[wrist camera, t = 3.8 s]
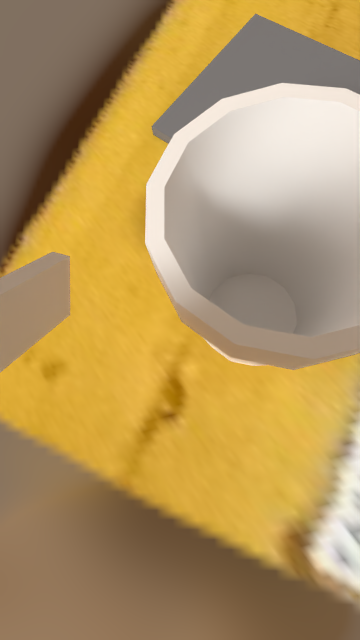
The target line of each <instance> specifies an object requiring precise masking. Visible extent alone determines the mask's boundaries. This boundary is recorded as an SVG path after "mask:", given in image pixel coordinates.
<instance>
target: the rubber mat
mask: <svg viewBox="0 0 360 640" xmlns="http://www.w3.org/2000/svg"><path fill="white" fill-rule="evenodd" d="M280 83H289V84H301V85H312V86H324V87H336V88H346V89H349V90H351V91H353V92H355V93H357V94H359V95H360V61H359V60H357V59H355V58H353V57H350V56H348V55H346V54H344V53H342V52H339V51H337V50H335V49H333V48H330V47H328V46H326V45H324V44H322V43H319V42H317V41H315V40H313V39H310V38H308V37H306V36H304V35H302V34H299V33H297V32H295V31H293V30H290V29H288V28H286V27H284V26H282V25H279V24H277V23H275V22H273V21H270V20H268V19H266V18H264V17H261V16H259V15H257V14H255V15H254V16H253V17H252V18H251V19H250V20H249V21H248V23H247V24H246V25H245V26H244V27H243V28H242V29H241V30H240V31H239V32H238V33H237V34H236V36H235V37H234V38H233V39H232V40H231V41H230V42H229V43H228V44H227V45H226V46H225V47H224V49H223V50H222V51H221V52H220V53H219V54H218V55H217V56H216V57H215V58H214V59H213V61H212V62H211V63H210V64H209V65H208V66H207V67H206V68H205V69H204V70H203V71H202V72H201V74H200V75H199V76H198V77H197V78H196V79H195V80H194V81H193V82H192V83H191V84H190V85H189V87H188V88H187V89H186V90H185V91H184V92H183V93H182V94H181V95H180V96H179V97H178V98H177V100H176V101H175V102H174V103H173V104H172V105H171V106H170V107H169V108H168V109H167V110H166V111H165V113H164V114H163V115H162V116H161V117H160V118H159V119H158V120H157V121H156V122H155V123H154V124H153V126H152V130H153V135H155V136H157V137H158V138H160V139H162V140H163V141H165V142H167V143H170V141H171V139H172V137H173V135H174V134H175V133H176V132H178V131H179V130H180V129H182V128H183V127H184V126H186V125H187V124H188V123H190V122H191V121H193V120H194V119H195V118H197V117H198V116H199V115H201V114H202V113H203V112H205V111H206V110H207V109H209V108H210V107H212V106H213V105H214V104H216V103H217V102H218V101H220V100H221V99H223V98H227V97H231V96H235V95H238V94H242V93H246V92H250V91H253V90H257V89H261V88H265V87H268V86H272V85H276V84H280Z"/></svg>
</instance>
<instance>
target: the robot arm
mask: <svg viewBox="0 0 360 640" xmlns="http://www.w3.org/2000/svg"><path fill="white" fill-rule="evenodd" d="M69 315H70V256H66V255H63V254H59V253H55V252H51V253H49V254H47V255H45V256H43V257H41V258H39V259H37V260H35V261H33V262H31V263H29V264H27V265H25V266H23V267H21V268H19V269H17V270H15V271H13V272H11V273H9V274H7V275H5V276H3V277H1V278H0V372H1V371H3V370H4V369H5V368H6V367H7V366H9V365H10V364H11V363H12V362H13V361H15V360H16V359H17V358H18V357H19V356H21V355H22V354H23V353H24V352H26V351H27V350H28V349H29V348H30V347H32V346H33V345H34V344H35V343H36V342H38V341H39V340H40V339H41V338H42V337H44V336H45V335H46V334H47V333H48V332H50V331H51V330H52V329H53V328H55V327H56V326H57V325H58V324H59V323H61V322H62V321H63V320H64V319H65V318H67V317H68V316H69Z"/></svg>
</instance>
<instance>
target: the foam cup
mask: <svg viewBox="0 0 360 640" xmlns="http://www.w3.org/2000/svg"><path fill="white" fill-rule="evenodd" d="M145 244H146V247H147V249H148V252H149V254H150V257H151V260H152V262H153V265H154V267H155V270H156V273H157V275H158V277H159V279H160V281H161V282H162V284H163V286H164V288H165V290H166V292H167V294H168V296H169V298H170V300H171V302H172V304H173V306H174V308H175V310H176V311H177V313H178V315H179V317H180V319H181V321H182V322H183V323H184V324H185V325H187V326H188V327H190V328H191V329H192V330H194V331H195V332H196V333H198V334H199V335H200V336H202V337H203V338H204V339H205V340H206V341H207V342H208V343H209V345H210V346H211V347H212V348H213V349H215V350H216V351H217V352H219V353H220V354H222V355H223V356H224V357H226V358H227V359H228V360H230V361H232V362H237V363H242V364H247V365H252V366H260V365H271V366H276V367H281V368H286V369H291V370H295V369H299V368H303V367H307V366H311V365H315V364H319V363H323V362H327V361H331V360H335V359H339V358H343V357H347V356H351V355H355V354H357V353H360V95H359V94H357V93H355V92H353V91H351V90H349V89H346V88H336V87H324V86H312V85H301V84H289V83H280V84H276V85H272V86H268V87H265V88H261V89H257V90H253V91H250V92H246V93H242V94H238V95H235V96H231V97H227V98H223V99H221V100H220V101H218V102H217V103H216V104H214V105H213V106H212V107H210V108H209V109H207V110H206V111H205V112H203V113H202V114H201V115H199V116H198V117H197V118H195V119H194V120H193V121H191V122H190V123H188V124H187V125H186V126H184V127H183V128H182V129H180V130H179V131H178V132H176V133H175V134H174V135H173V137H172V139H171V141H170V143H169V144H168V146H167V148H166V150H165V152H164V153H163V155H162V157H161V159H160V161H159V162H158V164H157V166H156V168H155V170H154V172H153V173H152V175H151V177H150V179H149V181H148V182H147V184H146V232H145Z"/></svg>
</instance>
